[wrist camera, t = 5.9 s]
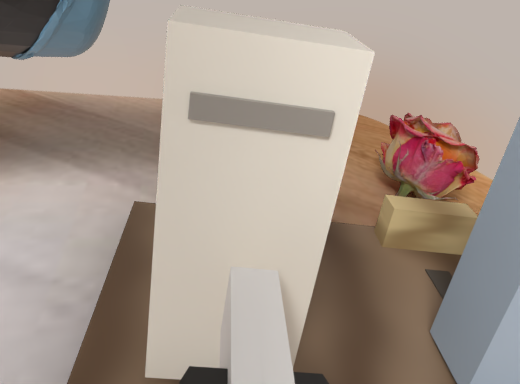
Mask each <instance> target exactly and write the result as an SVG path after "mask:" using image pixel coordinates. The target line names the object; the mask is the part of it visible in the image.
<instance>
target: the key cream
mask: <svg viewBox="0 0 520 384" xmlns="http://www.w3.org/2000/svg"><path fill="white" fill-rule="evenodd" d="M374 54H375V52H374V51H373V50H371V49H370V48H368V47H367V46H366V45H364V44H363V43H361V42H360V41H359V40H357V39H356V38H354V37H353V36H351V35H350V34H349V33H347V32H346V31H343V30H336V29H330V28H324V27H317V26H311V25H305V24H298V23H292V22H285V21H279V20H272V19H267V18H260V17H254V16H248V15H241V14H235V13H229V12H222V11H216V10H209V9H203V8H196V7H191V6H184V5H180V6H179V7H178V9H177V10H176V11H175V12H174V13H173V15H172V16H171V17H170V18H169V19H168V23H167V40H166V55H165V70H164V86H163V87H164V88H163V102H162V117H161V133H160V149H159V164H158V180H157V196H156V211H155V227H154V243H153V258H152V274H151V290H150V305H149V321H148V337H147V352H146V368H145V377H146V378H162V379H179V380H181V379H182V377H183V375H184V374H185V372H186V371H187V369H188V367H189V366H195V367H210V368H220V332H221V325H222V319H223V313H224V306H225V300H226V293H227V287H228V280H229V274H230V268H231V266H232V267H243V268H254V269H265V270H275V271H278V274H279V281H280V288H281V294H282V301H283V307H284V314H285V321H286V327H287V334H288V341H289V347H290V354H291V361H292V367H293V366H294V362H295V359H296V355H297V351H298V347H299V343H300V339H301V335H302V331H303V328H304V324H305V320H306V316H307V312H308V308H309V304H310V301H311V297H312V293H313V289H314V285H315V281H316V277H317V274H318V270H319V266H320V262H321V258H322V254H323V250H324V247H325V243H326V239H327V235H328V231H329V227H330V223H331V220H332V216H333V212H334V208H335V204H336V200H337V196H338V193H339V189H340V185H341V181H342V177H343V173H344V169H345V165H346V162H347V158H348V154H349V150H350V146H351V142H352V138H353V135H354V131H355V127H356V123H357V119H358V115H359V111H360V108H361V104H362V100H363V96H364V92H365V88H366V84H367V81H368V77H369V72H370V69H371V65H372V61H373V57H374Z"/></svg>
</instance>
